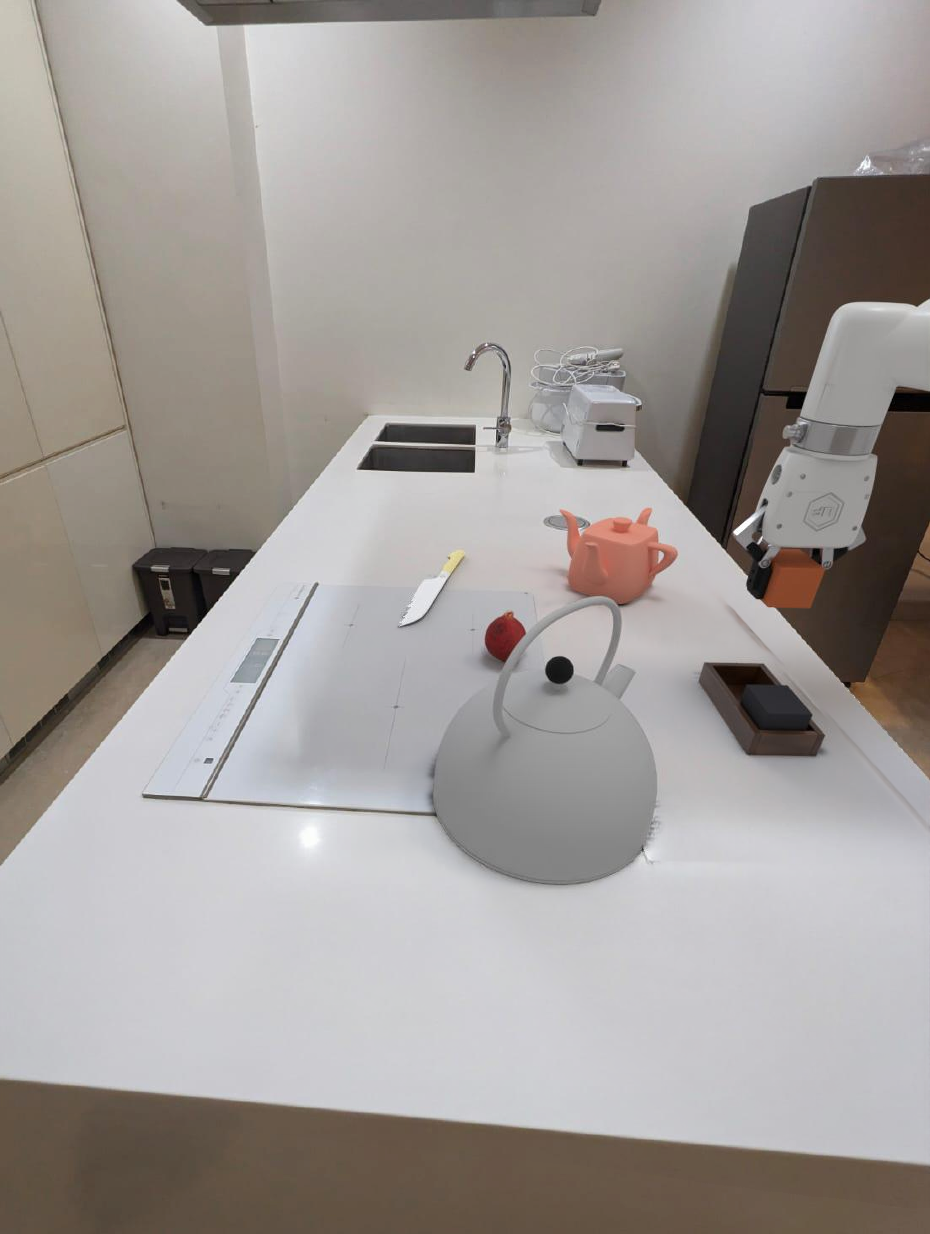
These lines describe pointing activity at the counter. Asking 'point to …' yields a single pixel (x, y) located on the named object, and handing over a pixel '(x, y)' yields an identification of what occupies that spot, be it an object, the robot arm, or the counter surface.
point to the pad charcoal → (775, 708)
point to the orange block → (792, 580)
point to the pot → (615, 557)
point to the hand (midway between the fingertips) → (778, 593)
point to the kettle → (549, 769)
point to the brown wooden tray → (726, 694)
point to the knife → (430, 590)
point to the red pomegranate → (503, 636)
